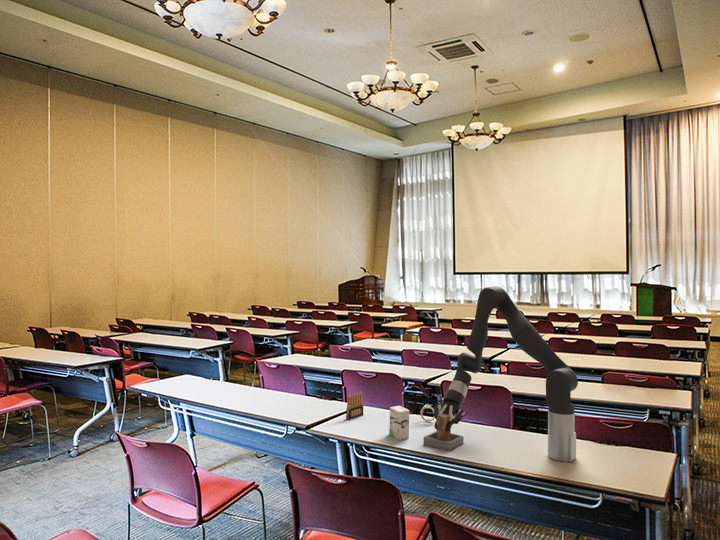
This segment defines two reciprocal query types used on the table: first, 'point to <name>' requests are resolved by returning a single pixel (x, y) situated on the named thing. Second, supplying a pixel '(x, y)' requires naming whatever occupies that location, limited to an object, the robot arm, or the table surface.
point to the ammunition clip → (354, 406)
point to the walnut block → (443, 427)
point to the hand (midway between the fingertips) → (441, 429)
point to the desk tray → (449, 445)
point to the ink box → (399, 422)
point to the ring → (425, 408)
